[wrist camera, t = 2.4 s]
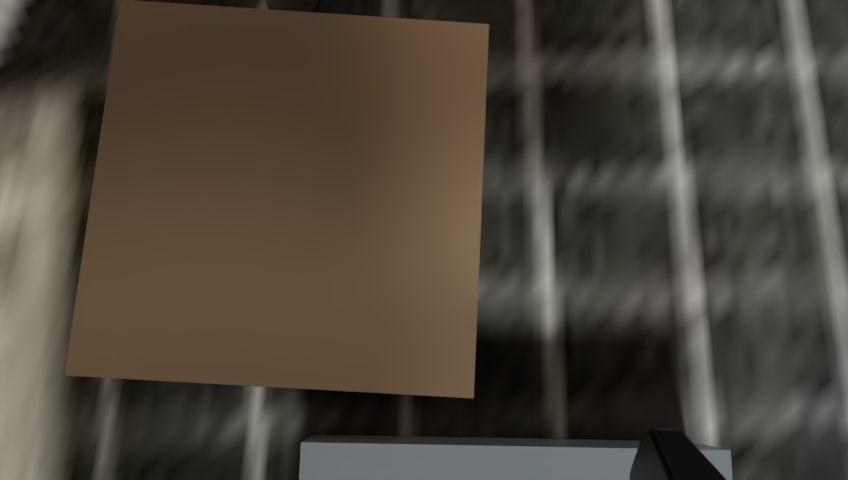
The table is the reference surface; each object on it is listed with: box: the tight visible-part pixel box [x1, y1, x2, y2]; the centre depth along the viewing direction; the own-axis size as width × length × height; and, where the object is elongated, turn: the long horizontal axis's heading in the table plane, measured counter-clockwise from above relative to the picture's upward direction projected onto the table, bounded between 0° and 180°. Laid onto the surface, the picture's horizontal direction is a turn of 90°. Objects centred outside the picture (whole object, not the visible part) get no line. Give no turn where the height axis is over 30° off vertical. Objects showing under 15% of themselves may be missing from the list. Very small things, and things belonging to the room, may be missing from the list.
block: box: [64, 0, 489, 398], centre depth 14 cm, size 4×4×11 cm
